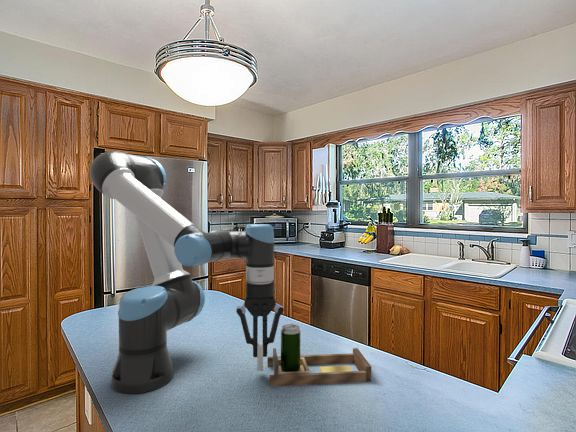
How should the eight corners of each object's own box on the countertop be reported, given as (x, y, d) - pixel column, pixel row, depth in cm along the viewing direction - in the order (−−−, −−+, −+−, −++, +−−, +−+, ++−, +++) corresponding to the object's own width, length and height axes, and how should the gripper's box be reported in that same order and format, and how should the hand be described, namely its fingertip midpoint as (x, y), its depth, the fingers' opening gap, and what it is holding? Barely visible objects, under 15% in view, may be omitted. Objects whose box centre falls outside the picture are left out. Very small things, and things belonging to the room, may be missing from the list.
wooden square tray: (275, 382, 89) (275, 362, 89) (272, 366, 98) (273, 348, 98) (309, 380, 90) (309, 360, 90) (304, 365, 99) (304, 347, 99)
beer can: (287, 377, 90) (288, 332, 90) (276, 369, 95) (277, 326, 94) (304, 372, 93) (304, 328, 93) (292, 364, 98) (293, 322, 97)
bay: (269, 386, 87) (269, 370, 87) (267, 365, 99) (267, 351, 99) (371, 381, 90) (371, 366, 90) (357, 361, 102) (357, 348, 102)
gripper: (234, 284, 88) (235, 376, 88) (285, 283, 89) (285, 373, 90) (236, 279, 95) (236, 363, 96) (282, 278, 97) (282, 361, 97)
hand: (260, 368), depth 93 cm, fingers closed
